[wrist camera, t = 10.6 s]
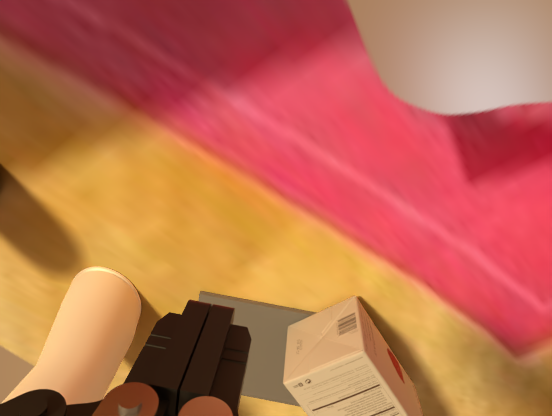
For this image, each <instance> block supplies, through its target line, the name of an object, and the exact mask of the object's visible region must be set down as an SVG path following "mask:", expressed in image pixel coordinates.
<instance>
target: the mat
mask: <svg viewBox="0 0 552 416" xmlns="http://www.w3.org/2000/svg"><path fill="white" fill-rule="evenodd" d="M199 302H205V303H210V304H212V305H213V304H216V305H221V306H226V307H231V308H235V314H234V321H233V324H234V325H239V326H244V327H248V330H249V333H250V336H251V339H252V340H251V345H250V351H249V357H248V363H247V368H246V374H245V379H244V384H243V389H242V394H241V395H244V396H249V397H254V398H259V399H264V400H270V401H275V402H280V403H285V404H290V405H295V406H300V405H299V403H298V402H297V401H296V400H295V398H294V397H293V396H292V394H291V393H290V392H289V391H288V389H287V388H286V387H285V385H284V384H283V377H284V366H285V354H286V343H287V332H288V326H290V325H292V324H294V323H296V322H298V321H301V320H303V319H305V318H307V317H309V316H311V315H314V314H316V313H315V312H310V311H304V310H299V309H294V308H288V307H283V306H278V305H272V304H267V303H262V302H257V301H251V300H246V299H241V298H235V297H230V296H225V295H219V294H214V293H209V292H204V291H200V294H199Z"/></svg>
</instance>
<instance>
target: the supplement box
mask: <svg viewBox="0 0 552 416" xmlns="http://www.w3.org/2000/svg"><path fill="white" fill-rule="evenodd" d="M283 384H284V385H285V387H286V388H287V389H288V391H289V392H290V393H291V394H292V396H293V397H294V398H295V400H296V401H297V402H298V403H299V405H300V406H301V407H302V409H303V410H304V411H305V412H306V414H307V415H308V416H423V413H422V410H421V406H420V403H419V399H418V395H417V392H416V388H415V386H414V384H413V383H412V381H411V380H410V378H409V376H408V375H407V373H406V372H405V370H404V369H403V367H402V366H401V364H400V363H399V361H398V360H397V358H396V357H395V355H394V354H393V352H392V351H391V349H390V347H389V346H388V344H387V343H386V341H385V340H384V338H383V337H382V335H381V334H380V332H379V331H378V329H377V328H376V326H375V325H374V323H373V321H372V320H371V318H370V317H369V315H368V314H367V312H366V311H365V309H364V308H363V306H362V305H361V303H360V301H359V300H358V298H357V297H356V296H352V297H351V298H348V299H346V300H344V301H342V302H340V303H338V304H335V305H333V306H331V307H329V308H327V309H325V310H322V311H320V312H318V313H316V314H314V315H311V316H309V317H307V318H305V319H303V320H301V321H298V322H296V323H294V324H292V325H290V326H288V332H287V343H286V354H285V366H284V377H283Z"/></svg>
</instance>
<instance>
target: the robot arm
mask: <svg viewBox="0 0 552 416" xmlns="http://www.w3.org/2000/svg"><path fill="white" fill-rule="evenodd" d="M234 314H235V308H231V307H226V306H221V305H216V304H213V305H212V304H210V303H205V302H199V301H194V300H189V301H188V303H187V305H186V307H185V309H184V311H183V313H182V315H180V314H175V313H170V312H169V313H168V314H167V315H165V316H164V317H163V318H161V319H160V320H159V321H158V322H157V323H156V325H155V327H154V329H153V331H152V332H151V335H150V336H149V338H148V340H147V342H146V344H145V346H144V347H143V349H142V351H141V353H140V354H139V356H138V358H137V360H136V362H135V364H134V365H133V367H132V369H131V371H130V373H129V375H128V376H127V378H126V380H125V382H124V383H123V384H122V385H119V386H117V387H115V388H114V389H112V390H111V391H110V392H109V393H107V395H106V396H105V397H104V399H102V400H100V401H96V402H90V403H81V404H70V405H66V400H65V398H64V397H63V396H62V395H61V394H60V393H59V392H57V391H54V390H50V389H37V390H32V391H29V392H26V393H24V394H21V395H19V396H17V397H15V398H13V399H10V400H8V401H6V402H4V403H2V404H0V416H238V408H239V403H240V398H241V394H242V389H243V384H244V379H245V374H246V368H247V363H248V357H249V351H250V345H251V340H252V339H251V336H250V333H249V330H248V327H244V326H239V325H234V324H233V321H234Z"/></svg>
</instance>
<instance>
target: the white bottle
mask: <svg viewBox="0 0 552 416" xmlns="http://www.w3.org/2000/svg"><path fill="white" fill-rule="evenodd" d="M140 314H141V300H140V297H139V294H138V292H137V290H136V288H135V287H134V286H133V284H132V283H131V282H130V281H129V280H128V279H127V278H126V277H125V276H123V275H122V274H120V273H119V272H117V271H115V270H112V269H109V268H106V267H98V266H96V267H89V268H86V269H83V270H82V271H80V272H79V273H78V274H77V275H76V276H75V277H74V279H73V281H72V284H71V286H70V288H69V290H68V292H67V294H66V296H65V298H64V300H63V302H62V304H61V307H60V309H59V311H58V314H57V316H56V319H55V321H54V324H53V326H52V328H51V331H50V333H49V336H48V338H47V341H46V343H45V345H44V348H43V350H42V353H41V355H40V358H39V360H38V362H37V365H36V366H35V367H34V368H33V369H32V370H31V371H30V372H29V373H28V375H27V376H26V377H25V378H24V379H23V380H22V381H21V382H20V383H19V384H18V386H17V387H16V388H15V389H14V390H13V391H12V392H11V393H10V394H9V396H8V397H7V398H6V399H5V400H4V401H3V402H2V403H4V402H6V401H8V400H10V399H13V398H15V397H17V396H19V395H21V394H24V393H26V392H29V391H32V390H37V389H50V390H54V391H57V392H59V393H60V394H61V395H62V396H63V397H64V398H65V400H66V405H70V404H81V403H90V402H96V401H100V400H102V399H103V397H104V395H105V393H106V391H107V389H108V387H109V386H110V384H111V382H112V380H113V378H114V376H115V374H116V372H117V370H118V368H119V366H120V364H121V362H122V360H123V358H124V357H125V355H126V353H127V351H128V349H129V347H130V345H131V343H132V341H133V338H134V335H135V331H136V327H137V324H138V320H139V317H140ZM2 403H1V404H2Z"/></svg>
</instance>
